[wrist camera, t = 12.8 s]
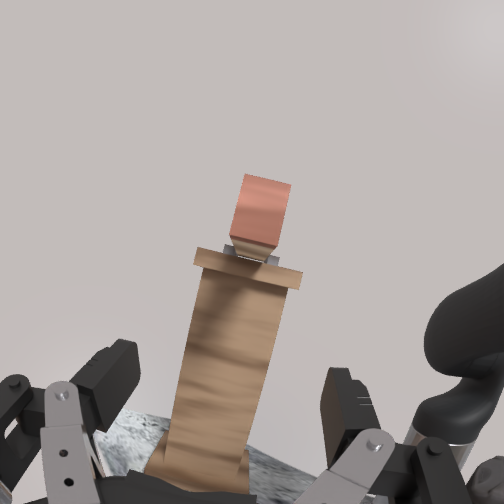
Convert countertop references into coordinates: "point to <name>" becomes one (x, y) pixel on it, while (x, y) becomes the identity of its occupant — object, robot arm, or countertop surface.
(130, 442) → the countertop surface
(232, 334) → the walnut stand
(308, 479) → the countertop surface
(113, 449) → the countertop surface
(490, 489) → the coffee jar
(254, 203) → the maple bar
